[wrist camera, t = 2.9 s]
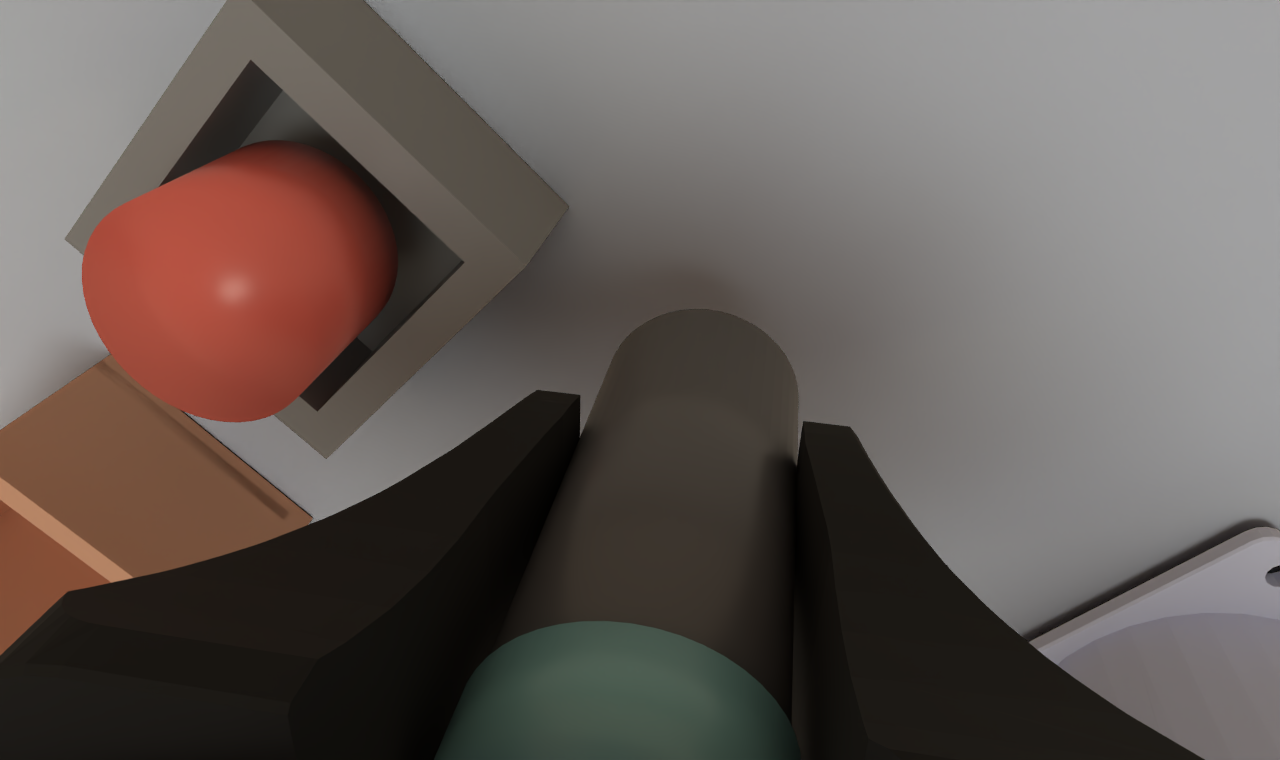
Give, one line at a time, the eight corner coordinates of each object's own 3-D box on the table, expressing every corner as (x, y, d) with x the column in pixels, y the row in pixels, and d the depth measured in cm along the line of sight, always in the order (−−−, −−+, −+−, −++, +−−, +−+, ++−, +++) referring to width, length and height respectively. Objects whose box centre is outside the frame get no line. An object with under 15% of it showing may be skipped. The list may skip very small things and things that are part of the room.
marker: (792, 495, 15) (777, 1023, 8) (597, 470, 15) (423, 955, 8) (818, 314, 14) (827, 773, 7) (601, 292, 14) (393, 704, 7)
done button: (438, 251, 15) (364, 327, 13) (322, 372, 16) (235, 462, 14) (271, 93, 14) (156, 140, 12) (164, 235, 16) (42, 304, 13)
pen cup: (312, 518, 22) (218, 641, 18) (193, 628, 24) (90, 755, 21) (111, 353, 20) (-33, 452, 17) (6, 488, 23) (-138, 598, 19)
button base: (569, 206, 17) (526, 265, 14) (390, 381, 20) (325, 459, 17) (331, -33, 16) (236, -14, 13) (171, 187, 18) (65, 238, 16)
